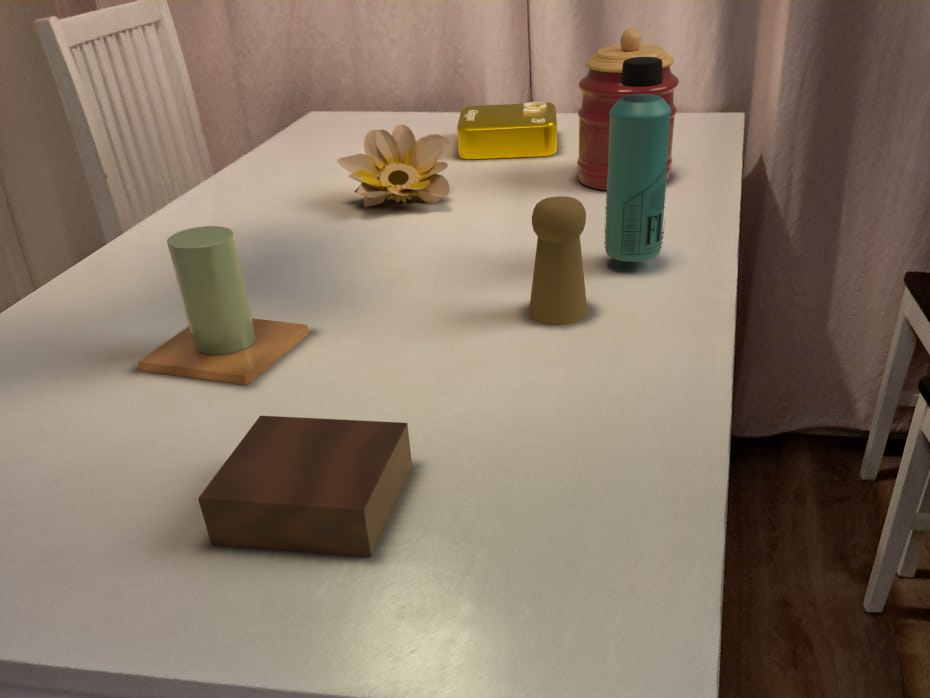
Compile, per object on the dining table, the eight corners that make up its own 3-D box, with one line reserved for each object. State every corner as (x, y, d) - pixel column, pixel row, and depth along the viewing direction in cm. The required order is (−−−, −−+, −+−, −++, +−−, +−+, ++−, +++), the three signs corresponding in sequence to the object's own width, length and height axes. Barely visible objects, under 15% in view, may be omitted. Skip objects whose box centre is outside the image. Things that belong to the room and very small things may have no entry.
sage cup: (182, 351, 90) (153, 245, 83) (216, 326, 94) (191, 223, 87) (235, 358, 88) (209, 250, 81) (267, 332, 92) (245, 228, 85)
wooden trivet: (140, 371, 89) (137, 361, 88) (209, 322, 97) (207, 312, 97) (247, 386, 85) (244, 375, 85) (309, 333, 94) (307, 324, 93)
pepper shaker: (590, 324, 92) (594, 207, 85) (530, 327, 92) (528, 211, 85) (584, 300, 97) (587, 188, 89) (527, 303, 97) (525, 191, 89)
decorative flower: (332, 209, 118) (328, 119, 114) (342, 204, 128) (338, 122, 124) (449, 211, 119) (449, 122, 114) (449, 207, 129) (450, 125, 124)
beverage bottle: (647, 279, 100) (662, 66, 87) (591, 270, 103) (598, 62, 90) (670, 260, 104) (688, 53, 91) (617, 251, 107) (626, 50, 94)
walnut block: (211, 545, 66) (197, 498, 64) (270, 459, 75) (260, 415, 72) (371, 557, 64) (363, 509, 62) (412, 468, 73) (407, 422, 70)
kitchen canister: (572, 193, 125) (574, 39, 113) (581, 166, 134) (584, 21, 122) (669, 193, 122) (682, 36, 111) (672, 165, 132) (684, 18, 120)
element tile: (463, 135, 150) (461, 102, 147) (555, 131, 150) (555, 98, 146) (457, 161, 139) (455, 125, 136) (557, 156, 138) (557, 121, 135)
